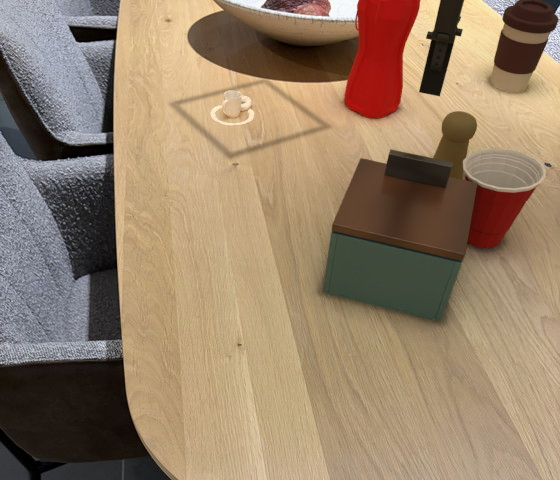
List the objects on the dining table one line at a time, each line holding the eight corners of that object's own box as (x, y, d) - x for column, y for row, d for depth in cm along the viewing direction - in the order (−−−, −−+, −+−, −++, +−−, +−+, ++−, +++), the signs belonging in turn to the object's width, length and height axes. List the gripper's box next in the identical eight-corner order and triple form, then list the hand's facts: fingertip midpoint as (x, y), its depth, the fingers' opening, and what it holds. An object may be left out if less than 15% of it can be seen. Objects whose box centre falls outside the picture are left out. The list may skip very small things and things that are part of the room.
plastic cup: (448, 209, 94) (471, 136, 84) (518, 227, 91) (550, 155, 82) (434, 249, 87) (457, 175, 78) (509, 270, 85) (542, 196, 76)
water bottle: (360, 88, 118) (384, -64, 99) (405, 110, 114) (439, -46, 95) (329, 102, 114) (348, -54, 95) (374, 125, 109) (403, -35, 90)
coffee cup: (538, 85, 124) (569, 4, 112) (522, 103, 118) (552, 19, 107) (493, 71, 127) (518, -9, 115) (475, 87, 121) (499, 5, 110)
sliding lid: (475, 189, 79) (484, 161, 76) (462, 261, 69) (473, 232, 66) (359, 164, 81) (364, 136, 78) (331, 230, 71) (335, 201, 68)
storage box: (453, 252, 87) (474, 191, 79) (439, 324, 77) (461, 263, 69) (348, 227, 89) (358, 166, 81) (321, 295, 79) (331, 232, 72)
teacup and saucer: (243, 101, 112) (243, 79, 109) (266, 120, 108) (267, 97, 105) (202, 112, 109) (200, 89, 106) (224, 132, 105) (224, 109, 102)
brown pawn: (417, 178, 99) (434, 113, 90) (440, 166, 101) (458, 102, 93) (446, 195, 96) (466, 129, 88) (469, 182, 99) (490, 117, 90)
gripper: (459, -163, 64) (409, 66, 82) (443, -140, 56) (392, 108, 74) (530, -153, 63) (464, 76, 81) (525, -128, 55) (453, 120, 73)
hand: (430, 91), depth 78 cm, fingers closed
